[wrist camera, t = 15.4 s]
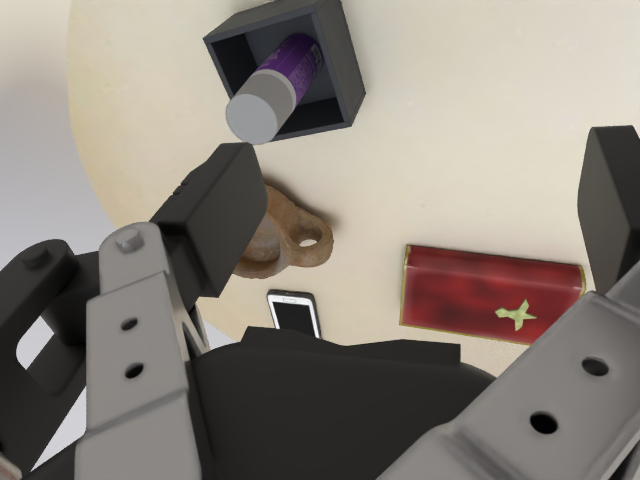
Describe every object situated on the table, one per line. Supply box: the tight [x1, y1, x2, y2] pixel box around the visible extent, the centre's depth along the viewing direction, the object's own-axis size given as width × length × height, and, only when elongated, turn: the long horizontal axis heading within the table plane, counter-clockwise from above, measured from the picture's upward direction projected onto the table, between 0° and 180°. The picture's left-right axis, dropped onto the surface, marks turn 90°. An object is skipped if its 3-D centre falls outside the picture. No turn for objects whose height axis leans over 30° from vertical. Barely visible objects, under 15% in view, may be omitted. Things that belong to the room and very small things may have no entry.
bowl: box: [232, 184, 334, 279], centre depth 61 cm, size 18×14×10 cm
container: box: [226, 32, 324, 145], centre depth 44 cm, size 5×5×15 cm
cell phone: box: [267, 291, 321, 339], centre depth 79 cm, size 8×15×1 cm, turn 8°
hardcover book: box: [399, 245, 586, 346], centre depth 63 cm, size 12×21×4 cm, turn 93°
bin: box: [203, 0, 366, 145], centre depth 47 cm, size 11×11×8 cm
